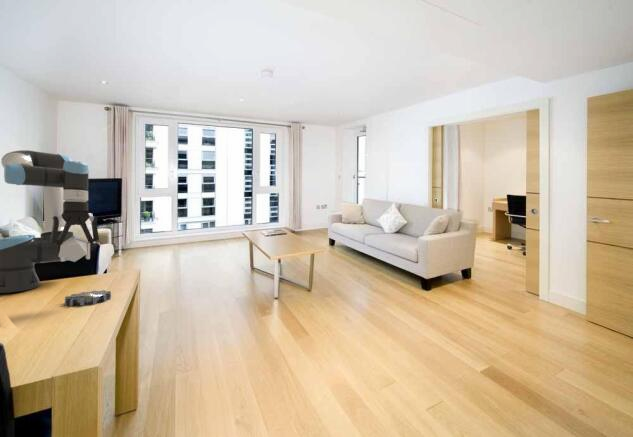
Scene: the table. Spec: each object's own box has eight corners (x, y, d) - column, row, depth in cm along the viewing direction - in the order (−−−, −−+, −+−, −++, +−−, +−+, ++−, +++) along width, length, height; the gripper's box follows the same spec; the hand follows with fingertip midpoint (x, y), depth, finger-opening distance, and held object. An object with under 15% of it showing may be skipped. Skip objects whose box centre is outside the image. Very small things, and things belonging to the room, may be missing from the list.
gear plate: (60, 302, 113) (60, 295, 113) (103, 294, 125) (103, 288, 125) (70, 308, 104) (70, 302, 104) (116, 299, 116) (116, 293, 116)
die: (94, 259, 114) (92, 234, 114) (72, 264, 105) (70, 237, 105) (76, 259, 115) (73, 235, 115) (53, 264, 106) (50, 238, 106)
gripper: (43, 199, 101) (42, 263, 101) (109, 202, 117) (109, 258, 116) (39, 200, 105) (38, 262, 105) (103, 203, 121) (103, 256, 121)
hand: (75, 259), depth 111 cm, fingers closed on die, 7 cm apart
